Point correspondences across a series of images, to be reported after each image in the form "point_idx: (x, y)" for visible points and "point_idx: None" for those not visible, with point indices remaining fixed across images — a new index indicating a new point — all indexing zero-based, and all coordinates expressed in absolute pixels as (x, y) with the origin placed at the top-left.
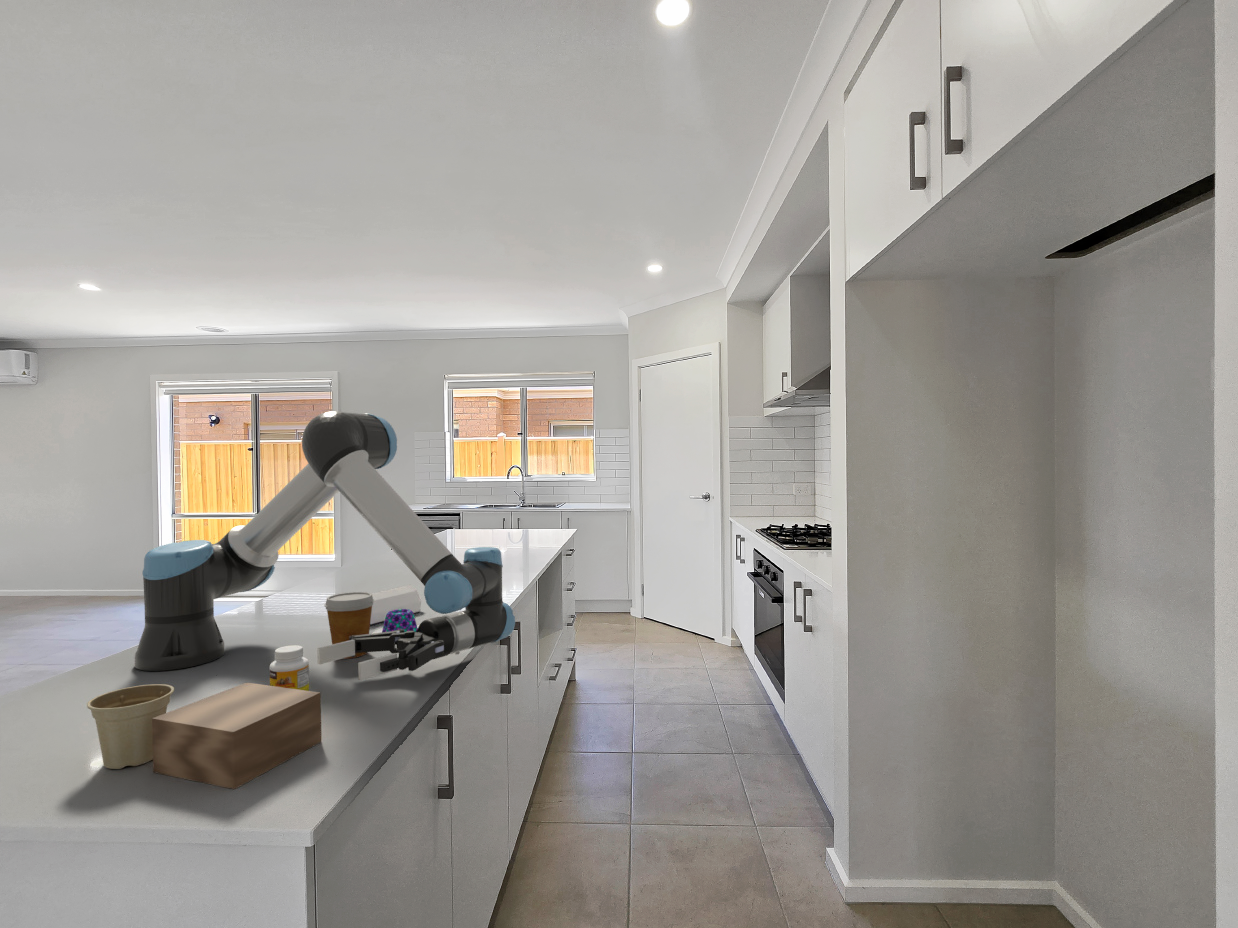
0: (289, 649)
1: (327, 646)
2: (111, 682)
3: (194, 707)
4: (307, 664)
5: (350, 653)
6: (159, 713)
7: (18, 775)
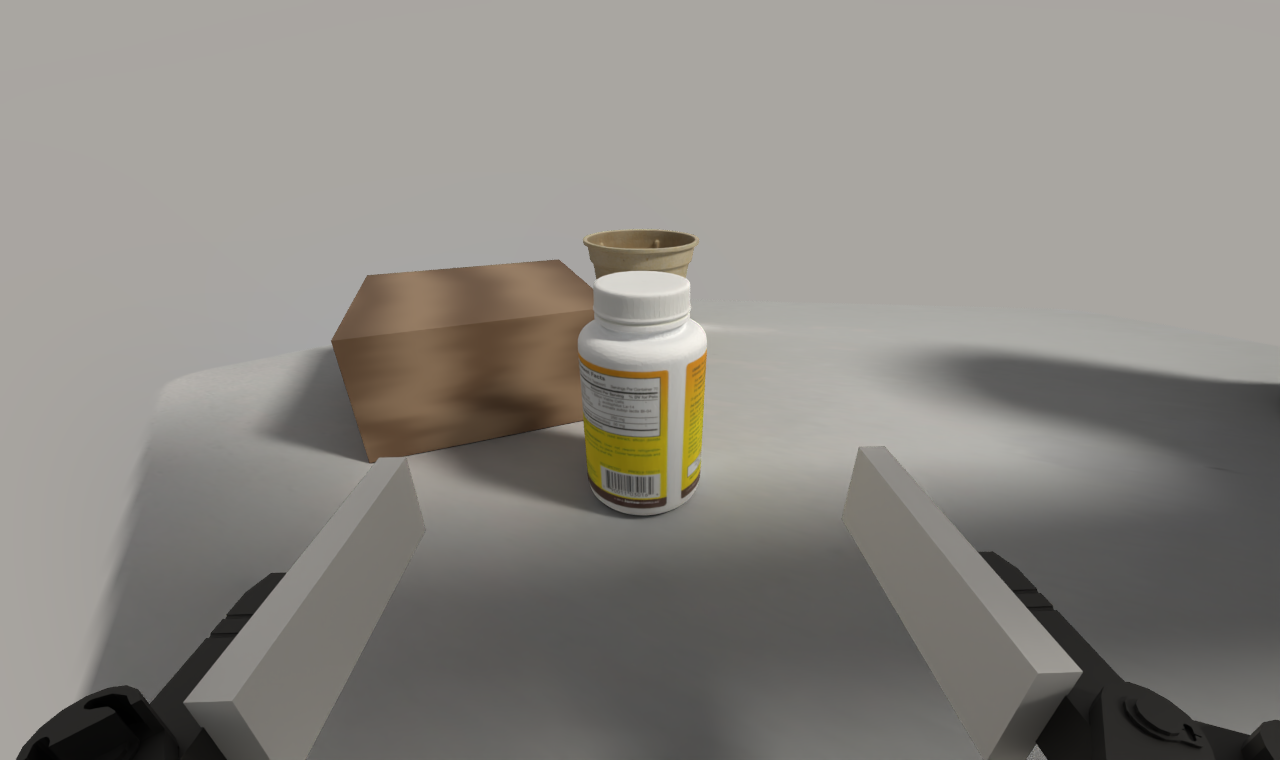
0: (628, 281)
1: (892, 480)
2: (1164, 360)
3: (547, 273)
4: (594, 362)
5: (964, 699)
6: (602, 273)
7: (696, 301)
